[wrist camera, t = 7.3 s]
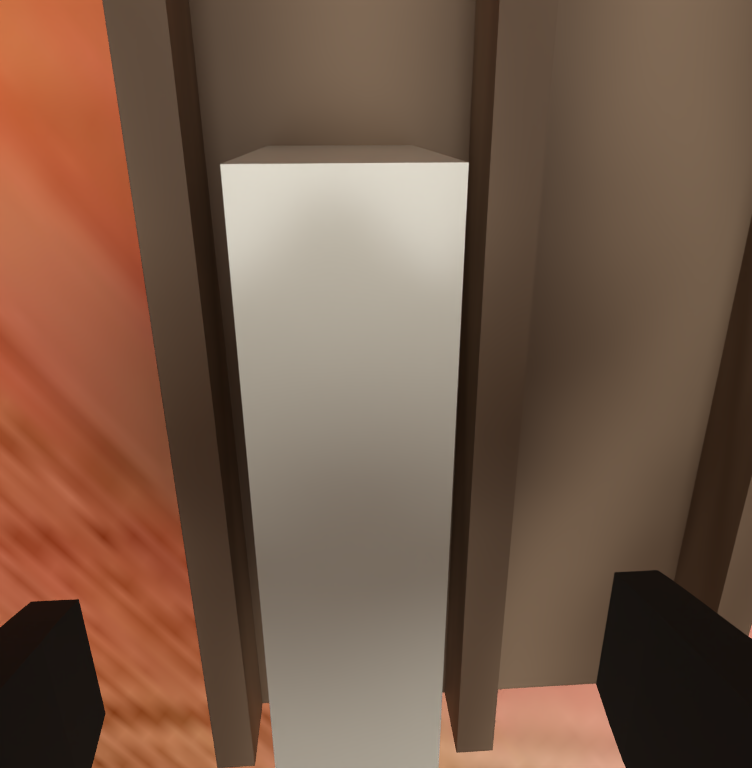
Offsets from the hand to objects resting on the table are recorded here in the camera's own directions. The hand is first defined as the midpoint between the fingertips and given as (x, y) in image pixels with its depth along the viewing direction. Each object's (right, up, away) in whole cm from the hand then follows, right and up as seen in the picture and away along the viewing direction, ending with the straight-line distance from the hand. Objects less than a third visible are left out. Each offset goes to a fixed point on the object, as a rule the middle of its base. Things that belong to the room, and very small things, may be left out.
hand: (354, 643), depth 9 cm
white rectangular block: (0, +3, +7) cm, 7 cm away
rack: (+3, +3, +8) cm, 9 cm away
